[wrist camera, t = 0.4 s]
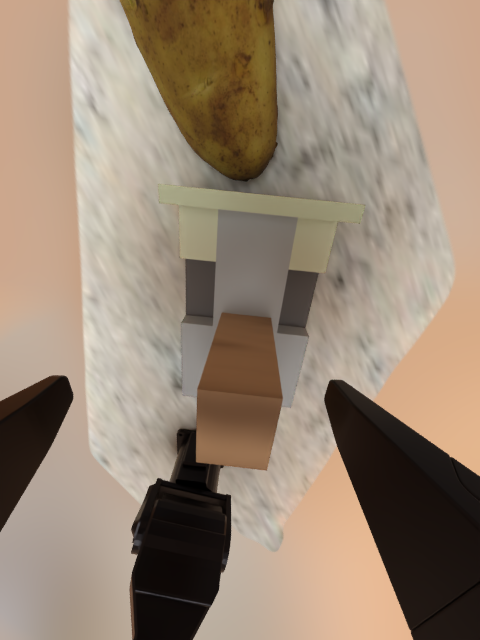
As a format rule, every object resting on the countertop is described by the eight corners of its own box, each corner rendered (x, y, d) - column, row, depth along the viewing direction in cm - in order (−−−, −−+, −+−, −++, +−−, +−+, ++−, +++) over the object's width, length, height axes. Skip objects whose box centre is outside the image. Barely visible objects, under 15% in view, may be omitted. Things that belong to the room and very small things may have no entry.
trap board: (288, 394, 28) (296, 440, 22) (187, 383, 28) (170, 425, 22) (333, 205, 19) (365, 204, 13) (185, 190, 19) (158, 183, 14)
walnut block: (262, 371, 24) (266, 470, 15) (218, 366, 24) (195, 462, 15) (271, 317, 21) (283, 399, 12) (221, 312, 21) (197, 389, 12)
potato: (170, 188, 19) (118, 176, 12) (133, -68, 14) (-7, -382, 6) (273, 183, 18) (285, 167, 11) (278, -87, 13) (308, -455, 6)
